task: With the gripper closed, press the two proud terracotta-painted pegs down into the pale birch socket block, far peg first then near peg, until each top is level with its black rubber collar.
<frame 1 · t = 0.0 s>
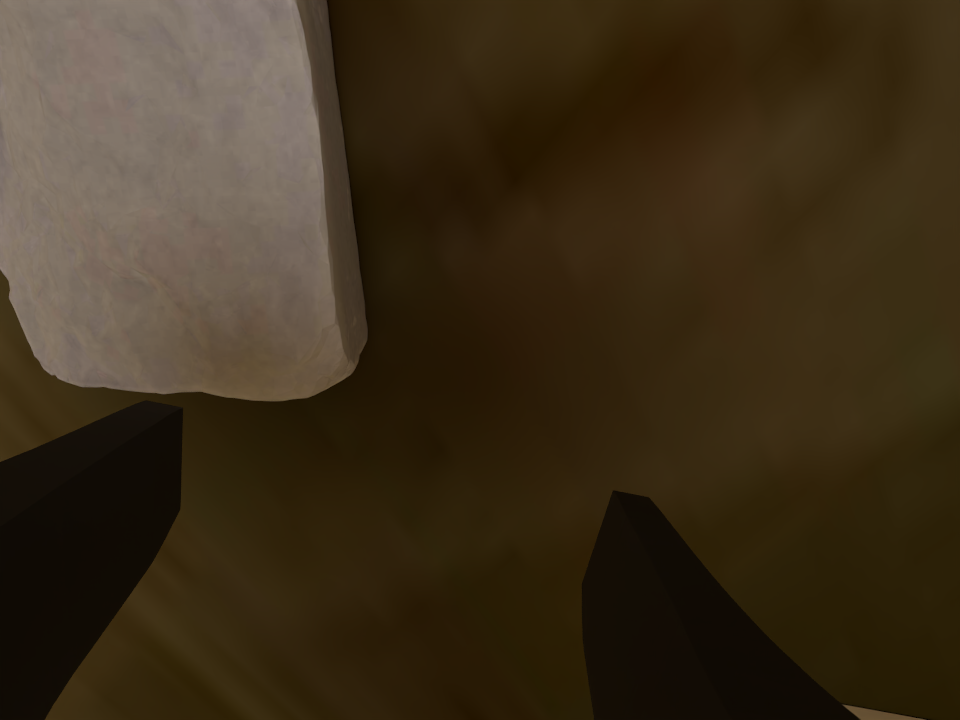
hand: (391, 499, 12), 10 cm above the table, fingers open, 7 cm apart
stone block: (186, 167, 20), on the table
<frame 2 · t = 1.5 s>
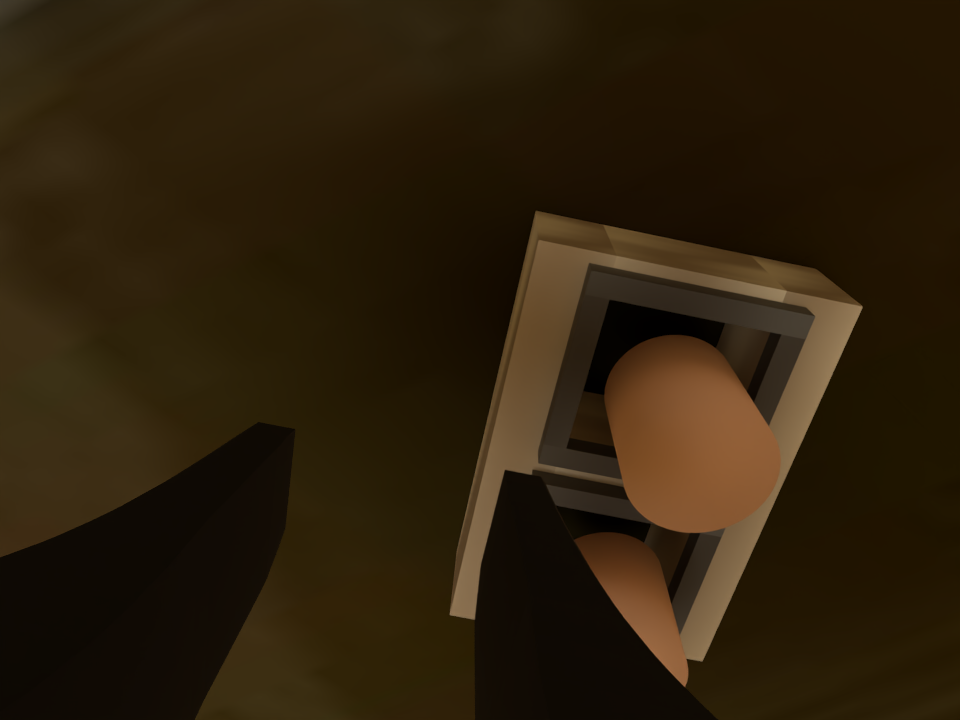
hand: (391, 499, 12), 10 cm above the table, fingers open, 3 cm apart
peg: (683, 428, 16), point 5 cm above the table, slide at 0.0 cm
socket block: (617, 424, 22), on the table
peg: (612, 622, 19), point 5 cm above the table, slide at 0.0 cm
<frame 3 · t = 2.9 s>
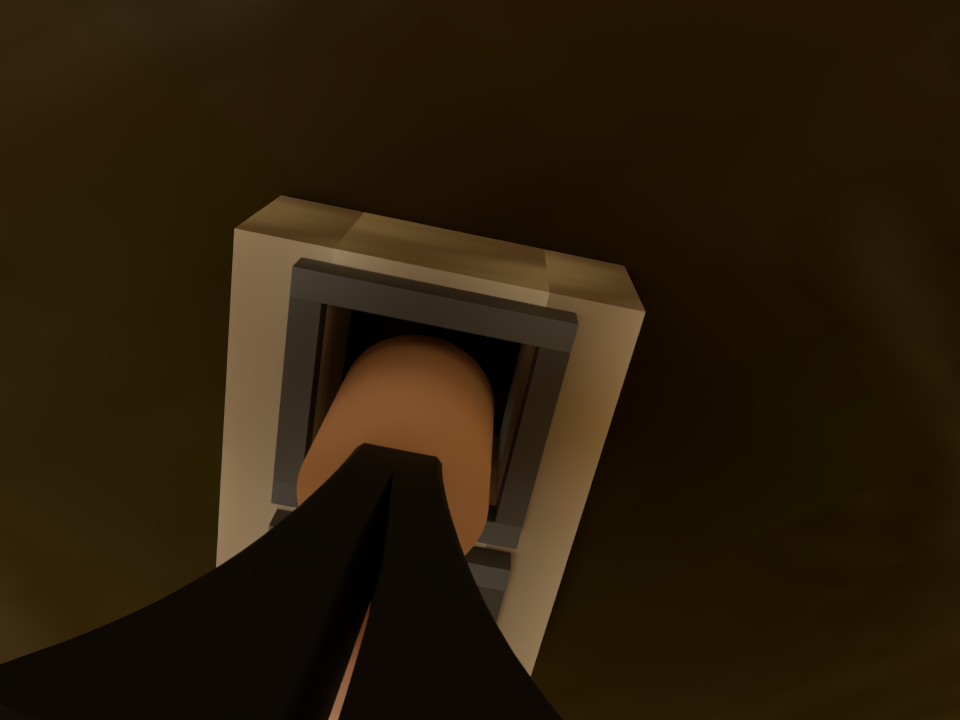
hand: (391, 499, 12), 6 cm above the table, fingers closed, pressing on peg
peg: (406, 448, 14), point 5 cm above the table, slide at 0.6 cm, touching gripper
socket block: (413, 450, 19), on the table
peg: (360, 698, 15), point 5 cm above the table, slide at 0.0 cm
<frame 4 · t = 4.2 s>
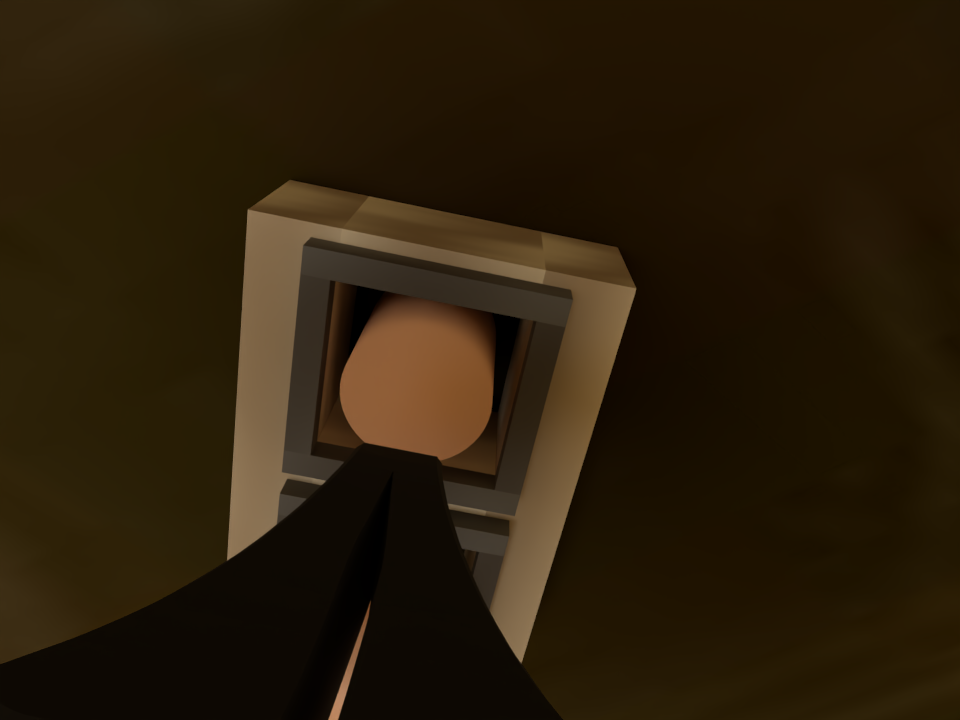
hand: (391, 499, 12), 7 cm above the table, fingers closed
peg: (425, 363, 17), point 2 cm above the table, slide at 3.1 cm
socket block: (416, 425, 20), on the table
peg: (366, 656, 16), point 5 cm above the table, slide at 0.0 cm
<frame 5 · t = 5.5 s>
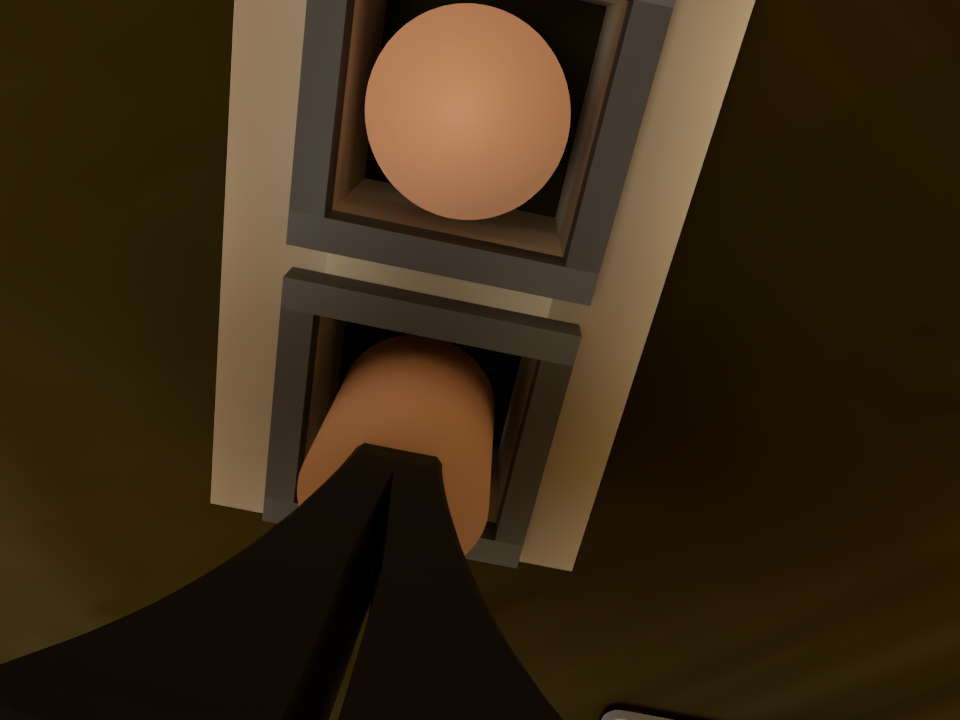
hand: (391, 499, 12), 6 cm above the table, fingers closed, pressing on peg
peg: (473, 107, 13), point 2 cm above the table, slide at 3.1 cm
socket block: (452, 237, 16), on the table
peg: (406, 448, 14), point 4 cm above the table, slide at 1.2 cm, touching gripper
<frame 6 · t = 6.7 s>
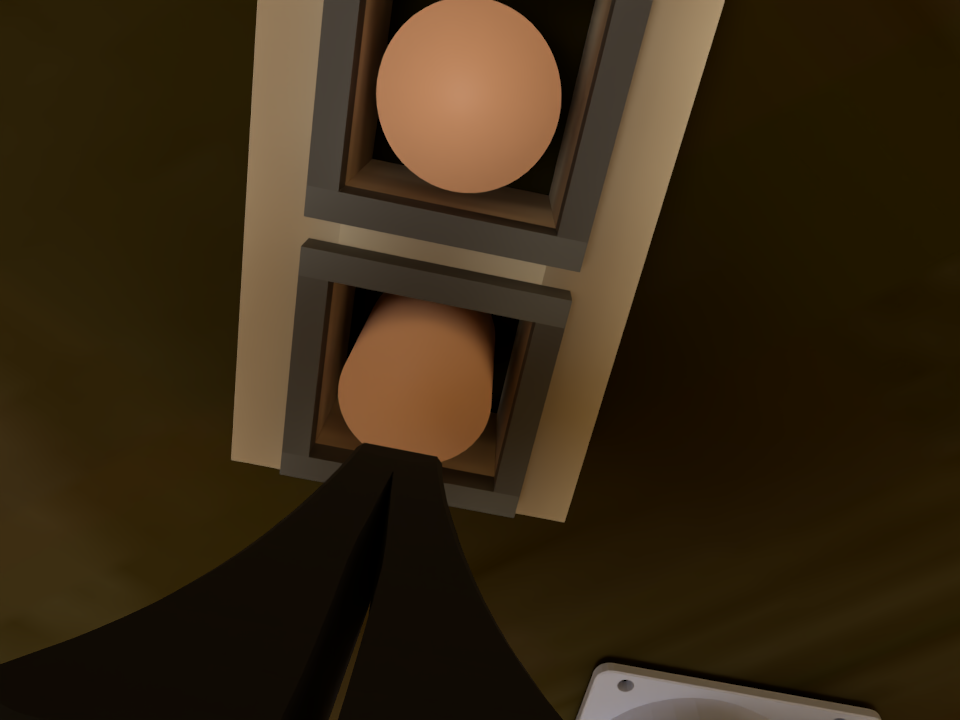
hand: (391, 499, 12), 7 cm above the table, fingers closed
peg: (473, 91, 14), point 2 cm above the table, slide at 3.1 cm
socket block: (454, 214, 17), on the table
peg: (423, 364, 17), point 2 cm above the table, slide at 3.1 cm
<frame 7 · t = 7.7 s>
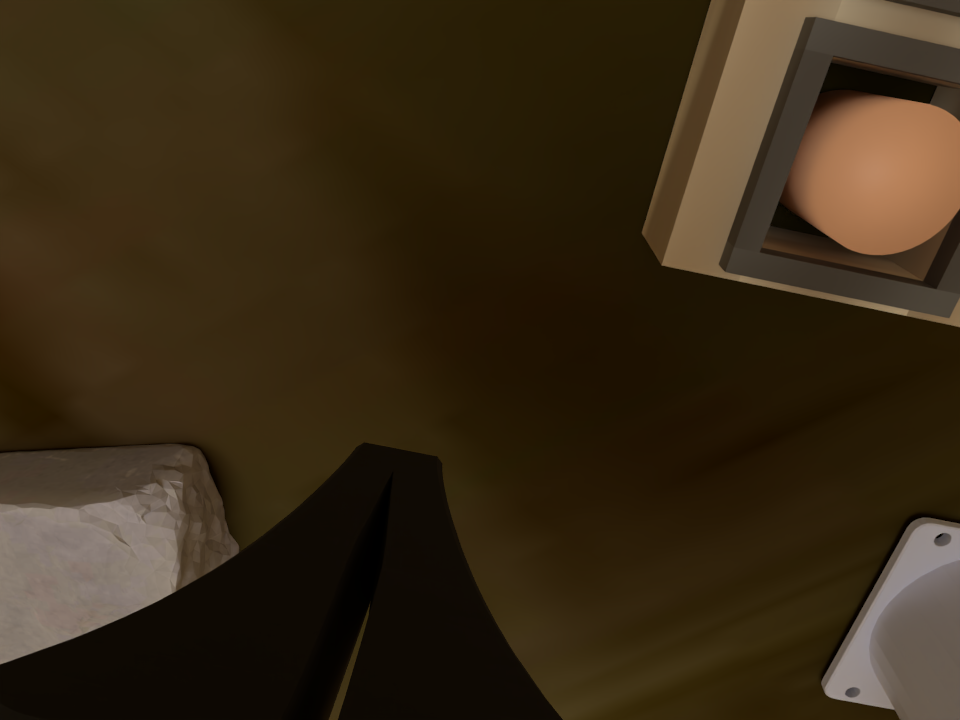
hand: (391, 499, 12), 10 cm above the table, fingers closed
socket block: (872, 29, 18), on the table
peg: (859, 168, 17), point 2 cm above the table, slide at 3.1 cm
stone block: (93, 552, 26), on the table
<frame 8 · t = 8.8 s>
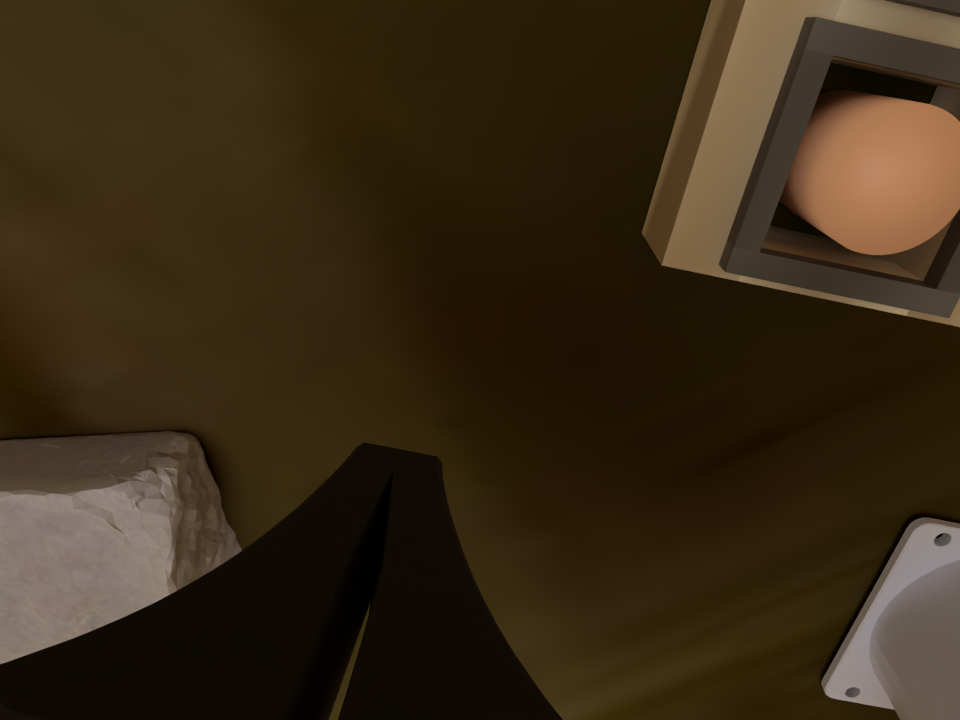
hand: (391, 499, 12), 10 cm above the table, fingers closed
socket block: (872, 29, 18), on the table
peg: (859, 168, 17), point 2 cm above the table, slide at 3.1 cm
stone block: (89, 542, 26), on the table
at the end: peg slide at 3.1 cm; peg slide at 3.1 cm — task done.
